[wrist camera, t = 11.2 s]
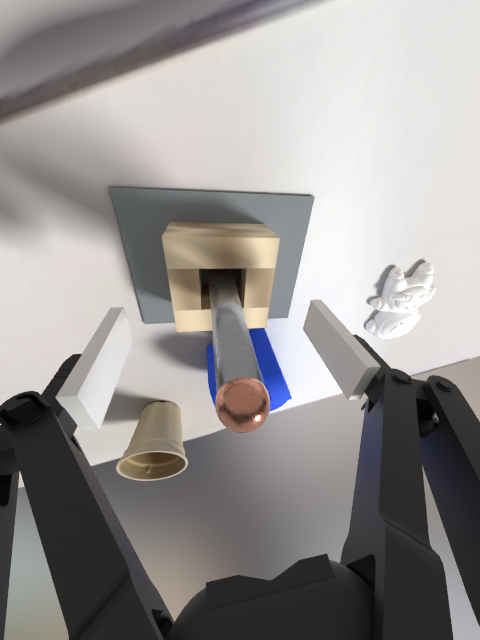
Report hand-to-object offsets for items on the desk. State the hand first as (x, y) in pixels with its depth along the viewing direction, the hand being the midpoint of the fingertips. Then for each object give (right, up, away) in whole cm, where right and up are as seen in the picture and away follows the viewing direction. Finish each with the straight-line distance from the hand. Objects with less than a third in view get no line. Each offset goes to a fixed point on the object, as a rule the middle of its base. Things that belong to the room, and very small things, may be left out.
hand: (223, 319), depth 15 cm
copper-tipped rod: (-1, +5, +7) cm, 9 cm away
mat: (-1, +6, +8) cm, 10 cm away
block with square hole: (-1, +5, +7) cm, 9 cm away
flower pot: (-12, -16, +22) cm, 29 cm away
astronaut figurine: (+23, +3, +15) cm, 28 cm away
